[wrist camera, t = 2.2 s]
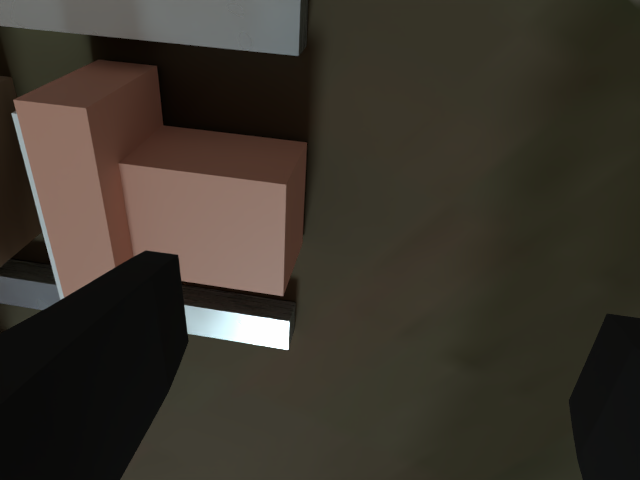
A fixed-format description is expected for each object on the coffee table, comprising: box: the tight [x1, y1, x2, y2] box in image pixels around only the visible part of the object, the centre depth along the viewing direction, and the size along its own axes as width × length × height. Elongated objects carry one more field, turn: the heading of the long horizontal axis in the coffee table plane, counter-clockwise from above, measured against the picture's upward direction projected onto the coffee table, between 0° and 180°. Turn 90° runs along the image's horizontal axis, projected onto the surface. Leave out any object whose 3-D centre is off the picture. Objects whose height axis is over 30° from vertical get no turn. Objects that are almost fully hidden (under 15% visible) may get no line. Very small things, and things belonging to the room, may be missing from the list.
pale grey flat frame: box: [0, 0, 308, 350], centre depth 18 cm, size 13×19×4 cm
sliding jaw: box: [11, 60, 307, 300], centre depth 17 cm, size 8×7×4 cm
